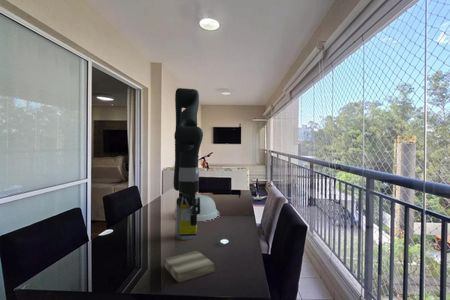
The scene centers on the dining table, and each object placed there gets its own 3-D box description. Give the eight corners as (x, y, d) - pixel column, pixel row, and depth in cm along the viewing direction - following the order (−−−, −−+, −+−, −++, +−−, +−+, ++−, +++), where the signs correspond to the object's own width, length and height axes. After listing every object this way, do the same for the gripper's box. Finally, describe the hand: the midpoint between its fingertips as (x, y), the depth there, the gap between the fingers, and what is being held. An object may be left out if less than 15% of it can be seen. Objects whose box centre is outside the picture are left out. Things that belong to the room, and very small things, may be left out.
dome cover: (223, 212, 182) (223, 192, 182) (214, 223, 153) (214, 200, 153) (182, 210, 188) (182, 191, 188) (165, 221, 159) (165, 199, 159)
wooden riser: (164, 266, 95) (164, 258, 95) (197, 258, 103) (197, 250, 103) (178, 282, 83) (178, 273, 83) (214, 271, 91) (214, 263, 91)
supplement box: (197, 230, 96) (197, 202, 96) (196, 236, 90) (196, 206, 90) (181, 231, 96) (181, 202, 96) (179, 236, 90) (179, 206, 90)
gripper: (172, 178, 97) (172, 219, 97) (187, 181, 85) (187, 229, 85) (190, 177, 101) (190, 217, 101) (206, 180, 89) (206, 225, 89)
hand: (188, 222), depth 93 cm, fingers closed on supplement box, 8 cm apart
